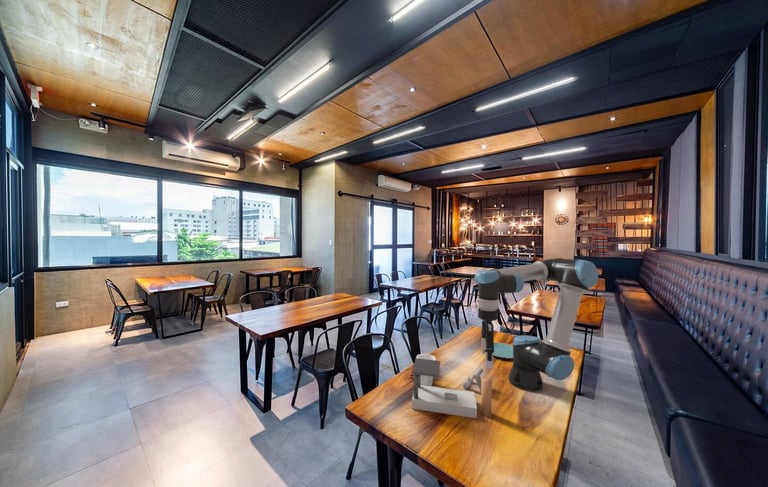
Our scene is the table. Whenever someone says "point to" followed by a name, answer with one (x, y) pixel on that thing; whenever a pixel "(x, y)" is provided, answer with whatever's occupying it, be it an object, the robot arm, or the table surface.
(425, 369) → the dark grey l-shaped piece
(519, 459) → the table surface
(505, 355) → the plate
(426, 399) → the board
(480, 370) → the portable electronic device stand
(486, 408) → the peg
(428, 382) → the foam cup
